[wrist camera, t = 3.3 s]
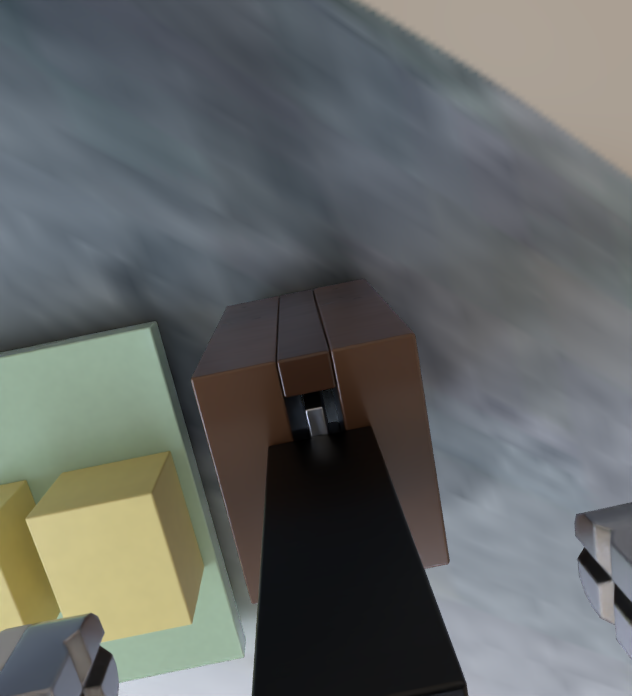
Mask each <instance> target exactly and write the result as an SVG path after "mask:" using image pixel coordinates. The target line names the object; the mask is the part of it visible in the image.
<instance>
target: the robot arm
mask: <svg viewBox="0 0 632 696" xmlns="http://www.w3.org/2000/svg"><path fill="white" fill-rule="evenodd" d="M575 536H576V537H577V538H578V540H579V541H580V542H581V543H582V544H583V546H584V549H583V550H582V552H581V554H580V555H579V557H578V559H577V561H578V569H579V577H580V580H581V583H582V586H583V589H584V592H585V595H586V596H587V598H588V600H589V602H590V604H591V606H592V607H593V609H594V610H595V612H596V613H597V614H598V616H599V617H600V618H601V619H603V620H605V621H607V622H609V623H611V624H613V625H615V630H616V640H617V641H618V642H619V644H620V645H621V646H622V648H623V649H624V650H625V652H626V653H627V654H628V656H629V657H630V658H631V660H632V502H631V503H626V504H621V505H617V506H612V507H607V508H603V509H598V510H593V511H589V512H584V513H579V514H576V518H575ZM104 633H105V632H104V629H103V627H102V624H101V622H100V619H99V617H98V616H97V615H95V614H93V613H88V614H82V615H77V616H71V617H66V618H60V619H55V620H49V621H44V622H38V623H34V624H28V625H23V626H18V627H13V628H8V629H4V630H3V631H1V632H0V696H118V690H119V677H118V671H117V665H116V662H115V660H114V657H113V654H112V653H110V652H109V651H107V650H106V649H105V648H103V647H102V646H100V643H101V641H102V638H103V636H104Z"/></svg>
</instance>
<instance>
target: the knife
mask: <svg viewBox="0 0 632 696" xmlns="http://www.w3.org/2000/svg"><path fill="white" fill-rule="evenodd" d="M304 402H305V412H306V417H307V421H308V426H309V431H310V435H311V438H307V439H302V440H297V441H292V442H287V443H282V444H277V445H272V446H269V447H268V455H267V470H266V485H265V501H264V516H263V532H262V547H261V562H260V578H259V593H258V608H257V624H256V639H255V654H254V670H253V685H252V696H468V690H467V684H466V681H465V678H464V675H463V672H462V670H461V667H460V664H459V662H458V659H457V656H456V653H455V651H454V648H453V645H452V643H451V640H450V637H449V634H448V632H447V629H446V626H445V624H444V621H443V618H442V616H441V613H440V610H439V607H438V605H437V602H436V599H435V597H434V594H433V591H432V588H431V586H430V583H429V580H428V578H427V575H426V572H425V569H424V567H423V564H422V561H421V559H420V556H419V553H418V550H417V548H416V545H415V542H414V540H413V537H412V534H411V531H410V529H409V526H408V523H407V521H406V518H405V515H404V513H403V510H402V507H401V504H400V502H399V499H398V496H397V494H396V491H395V488H394V485H393V483H392V480H391V477H390V475H389V472H388V469H387V466H386V464H385V461H384V458H383V456H382V453H381V450H380V447H379V445H378V442H377V439H376V437H375V434H374V431H373V428H372V427H371V426H366V427H361V428H356V429H351V430H346V431H341V432H336V433H331V434H330V430H329V424H328V419H327V414H326V409H325V404H324V399H323V394H322V391H317V392H312V393H307V394H304Z"/></svg>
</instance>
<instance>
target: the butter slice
mask: <svg viewBox="0 0 632 696" xmlns="http://www.w3.org/2000/svg"><path fill="white" fill-rule="evenodd" d="M35 506H36V504H35V501H34V499H33V496H32V494H31V491H30V488H29V486H28V483H27V481H26V480H23V481H18V482H13V483H8V484H3V485H0V632H1V631H3V630H4V629H8V628H13V627H18V626H23V625H28V624H34V623H38V622H44V621H49V620H55V619H57V617H58V615H59V613H60V612H61V611H60V608H59V605H58V603H57V600H56V598H55V595H54V592H53V590H52V587H51V585H50V582H49V579H48V577H47V574H46V572H45V569H44V566H43V564H42V561H41V559H40V556H39V553H38V551H37V548H36V546H35V543H34V541H33V538H32V535H31V533H30V530H29V528H28V525H27V522H26V517H27V516H28V515H29V514H30V512H31V511H32V510H33V508H34V507H35Z"/></svg>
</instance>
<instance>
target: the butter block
mask: <svg viewBox="0 0 632 696" xmlns="http://www.w3.org/2000/svg"><path fill="white" fill-rule="evenodd" d="M26 522H27V525H28V528H29V530H30V533H31V535H32V538H33V541H34V543H35V546H36V548H37V551H38V553H39V556H40V559H41V561H42V564H43V566H44V569H45V572H46V574H47V577H48V579H49V582H50V585H51V587H52V590H53V592H54V595H55V598H56V600H57V603H58V605H59V608H60V611H61V613H62V616H63V618H66V617H71V616H77V615H82V614H88V613H93V614H95V615H97V616H98V617H99V619H100V622H101V624H102V627H103V629H104V632H105V633H104V636H103V638H102V641H101V643H102V642H107V641H112V640H117V639H122V638H127V637H132V636H137V635H142V634H147V633H152V632H157V631H161V630H166V629H171V628H176V627H181V626H186V625H191V624H192V623H193V618H194V614H195V609H196V604H197V599H198V595H199V590H200V585H201V581H202V576H203V571H204V564H203V560H202V557H201V553H200V550H199V546H198V543H197V540H196V536H195V533H194V529H193V526H192V523H191V519H190V516H189V512H188V509H187V506H186V502H185V499H184V495H183V492H182V489H181V485H180V482H179V478H178V475H177V472H176V468H175V465H174V461H173V458H172V454H171V452H170V451H167V452H162V453H157V454H152V455H147V456H142V457H137V458H132V459H127V460H122V461H117V462H112V463H108V464H103V465H98V466H93V467H88V468H83V469H78V470H73V471H68V472H63V473H61V474H60V476H59V477H58V478H57V479H56V481H55V482H54V483H53V484H52V486H51V487H50V488H49V489H48V491H47V492H46V493H45V495H44V496H43V497H42V498H41V500H40V501H39V502H38V503H37V505H36V506H35V507H34V508H33V510H32V511H31V512H30V514H29V515H28V516H27V517H26Z"/></svg>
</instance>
